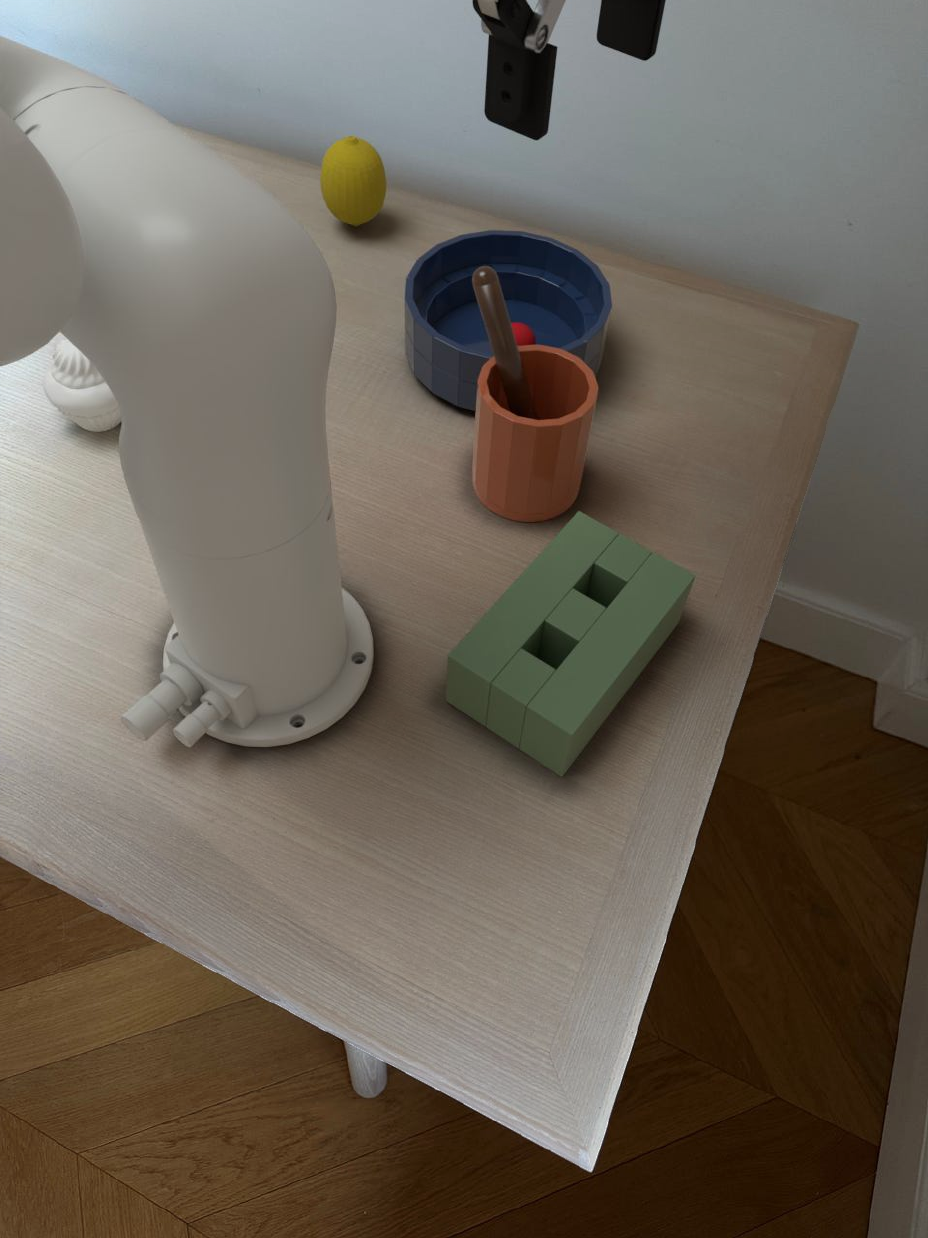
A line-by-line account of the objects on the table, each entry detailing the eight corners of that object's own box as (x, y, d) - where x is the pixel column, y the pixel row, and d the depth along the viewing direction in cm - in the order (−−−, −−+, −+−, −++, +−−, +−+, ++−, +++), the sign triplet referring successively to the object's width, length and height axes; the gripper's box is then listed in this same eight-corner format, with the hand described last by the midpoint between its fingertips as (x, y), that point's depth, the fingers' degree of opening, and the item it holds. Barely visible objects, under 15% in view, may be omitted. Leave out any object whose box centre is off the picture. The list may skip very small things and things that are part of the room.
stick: (545, 487, 69) (484, 273, 60) (527, 484, 70) (463, 273, 61) (558, 474, 70) (499, 261, 61) (539, 471, 71) (478, 261, 61)
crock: (540, 539, 68) (555, 443, 61) (450, 488, 71) (454, 390, 63) (599, 475, 72) (620, 377, 65) (512, 428, 74) (522, 329, 67)
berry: (498, 312, 76) (484, 348, 76) (532, 316, 75) (517, 352, 74) (514, 333, 79) (500, 367, 78) (547, 337, 77) (533, 372, 77)
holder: (678, 622, 65) (696, 575, 60) (561, 777, 58) (572, 735, 54) (569, 559, 67) (578, 510, 63) (445, 701, 61) (447, 655, 56)
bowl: (528, 453, 73) (536, 390, 68) (366, 365, 78) (362, 300, 73) (635, 345, 80) (649, 281, 75) (481, 271, 85) (484, 206, 80)
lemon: (391, 209, 90) (389, 121, 83) (382, 246, 87) (379, 158, 80) (330, 204, 90) (323, 116, 83) (318, 240, 87) (310, 152, 80)
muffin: (48, 403, 74) (17, 325, 68) (129, 378, 76) (106, 301, 70) (71, 458, 71) (41, 381, 65) (155, 431, 73) (133, 354, 67)
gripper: (596, -352, 29) (537, 193, 43) (839, -429, 38) (724, 47, 52) (394, -398, 32) (400, 133, 46) (665, -461, 40) (600, 2, 54)
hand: (572, 87), depth 49 cm, fingers open, 9 cm apart
